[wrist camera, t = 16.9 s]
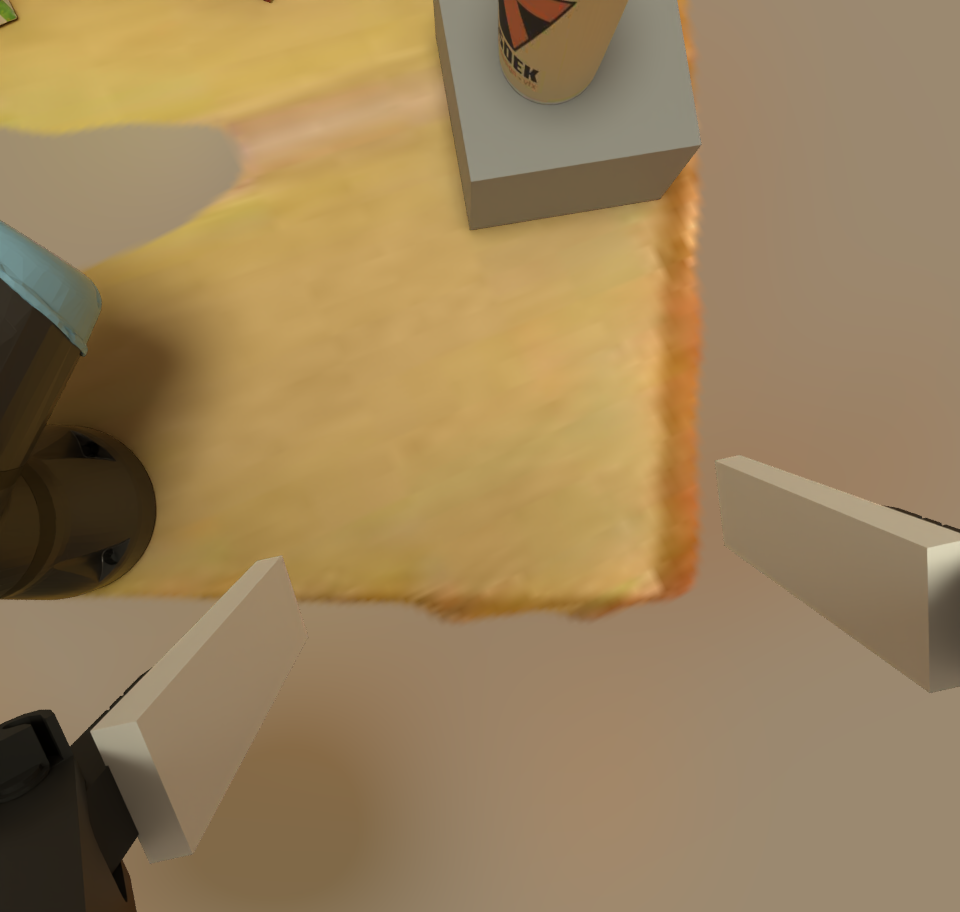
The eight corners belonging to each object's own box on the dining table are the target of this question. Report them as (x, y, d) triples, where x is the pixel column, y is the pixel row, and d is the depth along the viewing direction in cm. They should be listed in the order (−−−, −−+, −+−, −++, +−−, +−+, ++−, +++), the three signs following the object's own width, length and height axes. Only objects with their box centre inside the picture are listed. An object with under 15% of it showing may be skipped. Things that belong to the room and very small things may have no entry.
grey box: (470, 230, 45) (471, 181, 37) (435, 36, 44) (429, -56, 36) (659, 199, 45) (701, 144, 37) (626, 7, 45) (661, -90, 37)
